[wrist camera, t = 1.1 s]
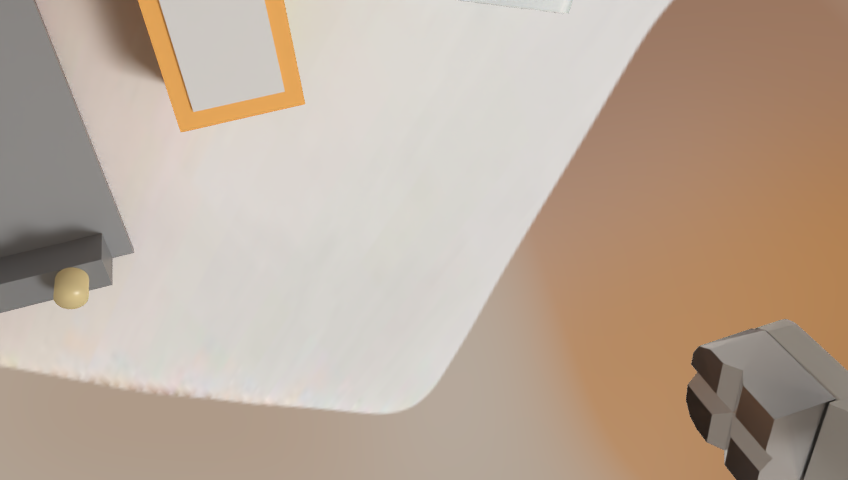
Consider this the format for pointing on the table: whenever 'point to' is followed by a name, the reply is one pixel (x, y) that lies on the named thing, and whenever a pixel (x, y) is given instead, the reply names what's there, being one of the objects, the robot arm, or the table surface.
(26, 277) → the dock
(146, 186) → the table surface
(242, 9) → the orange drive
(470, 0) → the hard drive
